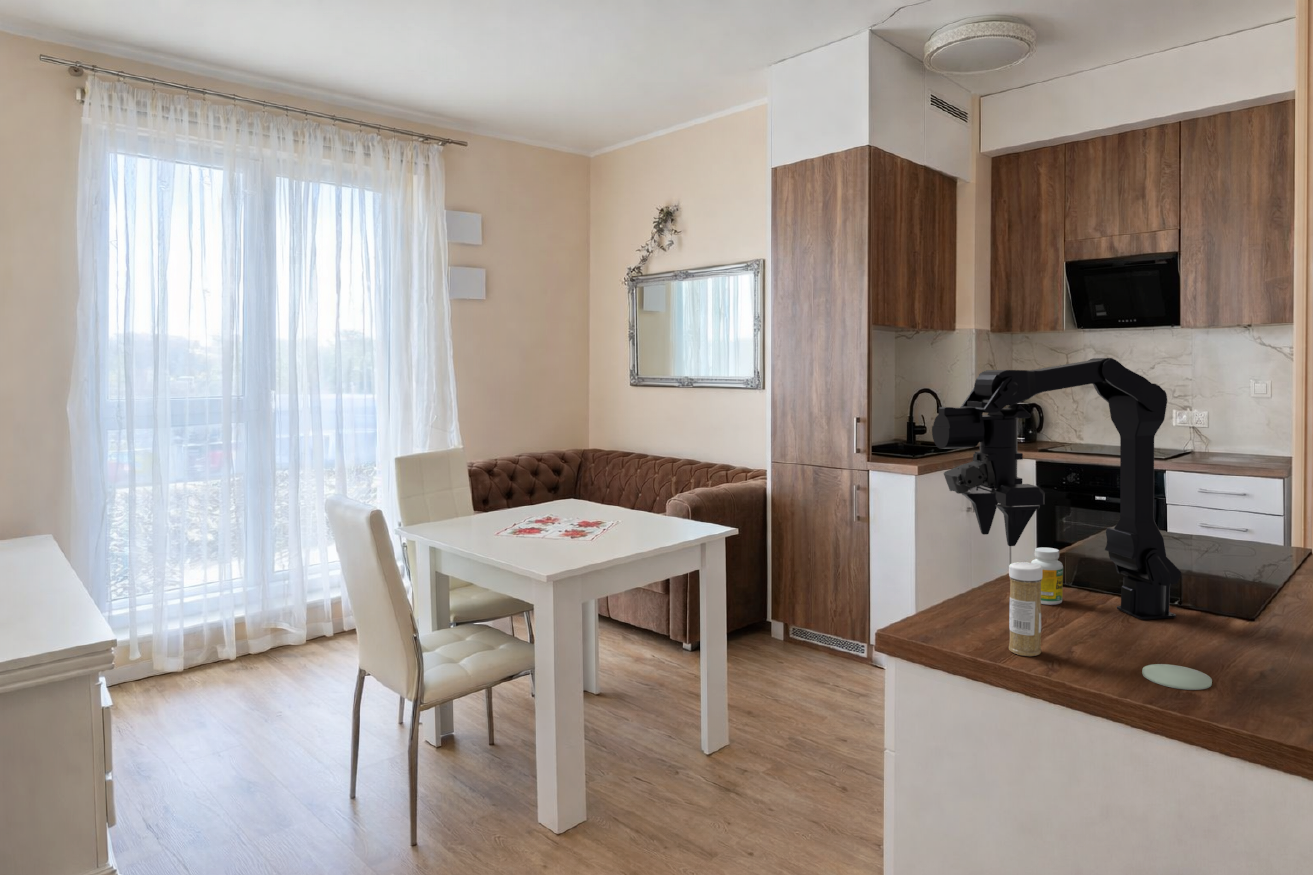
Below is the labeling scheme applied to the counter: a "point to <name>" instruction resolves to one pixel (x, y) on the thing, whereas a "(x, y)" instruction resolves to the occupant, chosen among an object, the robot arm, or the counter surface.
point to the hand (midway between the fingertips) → (997, 539)
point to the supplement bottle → (1050, 575)
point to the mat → (1177, 676)
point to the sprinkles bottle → (1025, 608)
